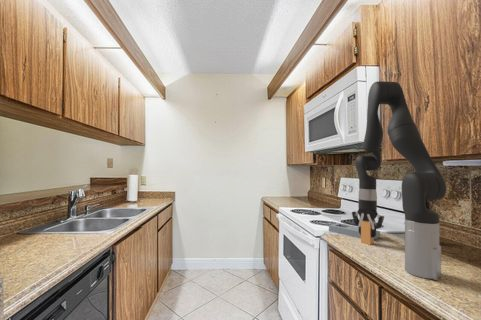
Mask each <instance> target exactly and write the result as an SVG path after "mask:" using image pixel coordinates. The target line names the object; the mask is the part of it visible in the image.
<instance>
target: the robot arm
mask: <svg viewBox="0 0 481 320" xmlns="http://www.w3.org/2000/svg"><path fill="white" fill-rule="evenodd" d="M367 95H368V96H367V109H366V111H367V112H366V126H365V127H366V128H365V134H364V139H363V144H362V149H363V150H364V151H365V152H368V153H369V152H370V155H365V154H364V155H358V156H357V157H356V159H355V161H354V165H355V166H354V167H355V169H356V173H357V176H358V180H359V181H358V183H359V184H358V204H357V205H358V210H357V211H356V210H354V211H352V212H351V216H352V219H353V222H354V223H353V224H354V225H355V226H357V227H359V233H360V235H361V221H363V220H364V221H369V222H370V224H371V227H372V229H371V237H372V238H374V237H375V236H376V230H378V229H381V228H382V226H383V222H384V219H385V215H381V214H379V213H378V211H377V209H378V193H377V192H378V191H377V177H375V176H373V175H369V174H368V171H369V172H375V171H378V170H379V169H380V168H381V166H382V159H381V157H382V156H381V146H382V142H383V138H384V129H383V126H382V123H381V120H380V118H379V108H380V107H379V106H380V105H388V106H389V107H390V110H391V115H392V116H391V118H390V120H389V123H388V125H387V135H388V137H389V140H390V143H391V145H392V147H393V148H394V149H395V151H396V152H398V153H399V155H401V156H402V157H403V158H404V159H405V160H407V161H408V162H409V163H410V165H412V167H413V169H414V171H415V172H408V173H405V175H404V176H403V178H402V180H401V198H402V200H401V201H402V204H401V205H402V211H403V213H404V222H405V224H404V270H405V272H407V273H408V274H410V275H413V276H414V277H415V276H416V277H419V278H423V279H429V280H435V281H437V280H438V279H439V278H440V277H441V276H442V246H441V245H440V215H439V214H438V213H437V212H435V211H433V210H430V209H429V208H428V207H427V205H426V201H439V200H441V199H443V198H444V197H445V196H446V193H447V185H446V180H445V179H444V177H443V175H442V174H441V172H440V170H439V169H438V167H437V165H436V164H435V162H434V160H433V159H432V157H431V155H430V153H429V151H428V150H427V148H426V145H425V143H424V141H423V139H422V135H421V133H420V132H419V129H418V127H417V125H416V123H415V121H414V119H413V117H412V115H411V111H410V109H409V107H408V104H407V101H406V97H405V93H404V91H403V87H402V86H401V84H400V83H399V82H398V81H397V82H396V81H381V80H380V81H378V80H377V81H374V82H373V83H372V84H371V86H370V87H369V90H368V94H367ZM376 218H377V222H376Z"/></svg>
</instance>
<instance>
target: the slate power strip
mask: <svg viewBox="0 0 481 320" xmlns="http://www.w3.org/2000/svg"><path fill="white" fill-rule="evenodd" d="M328 231H329V232H332V233H336V234H340V235H345V236H348V237H353V238H358V239H361V235H360V233H359V226H358V225H350V224H346V223H341V222H337V223H333V224H329V225H328ZM380 238H381V231H380V230H378V229H376V236H375V237H374V241H375V240H377V239H380Z"/></svg>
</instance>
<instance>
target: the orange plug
mask: <svg viewBox="0 0 481 320" xmlns="http://www.w3.org/2000/svg"><path fill="white" fill-rule="evenodd" d="M371 229H372V227H371V224H370V222H369V221H364V220H363V221H361V238H360V244H365V245H367V246H371V245H374V243H375V240H374V238H372V237H371Z"/></svg>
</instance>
